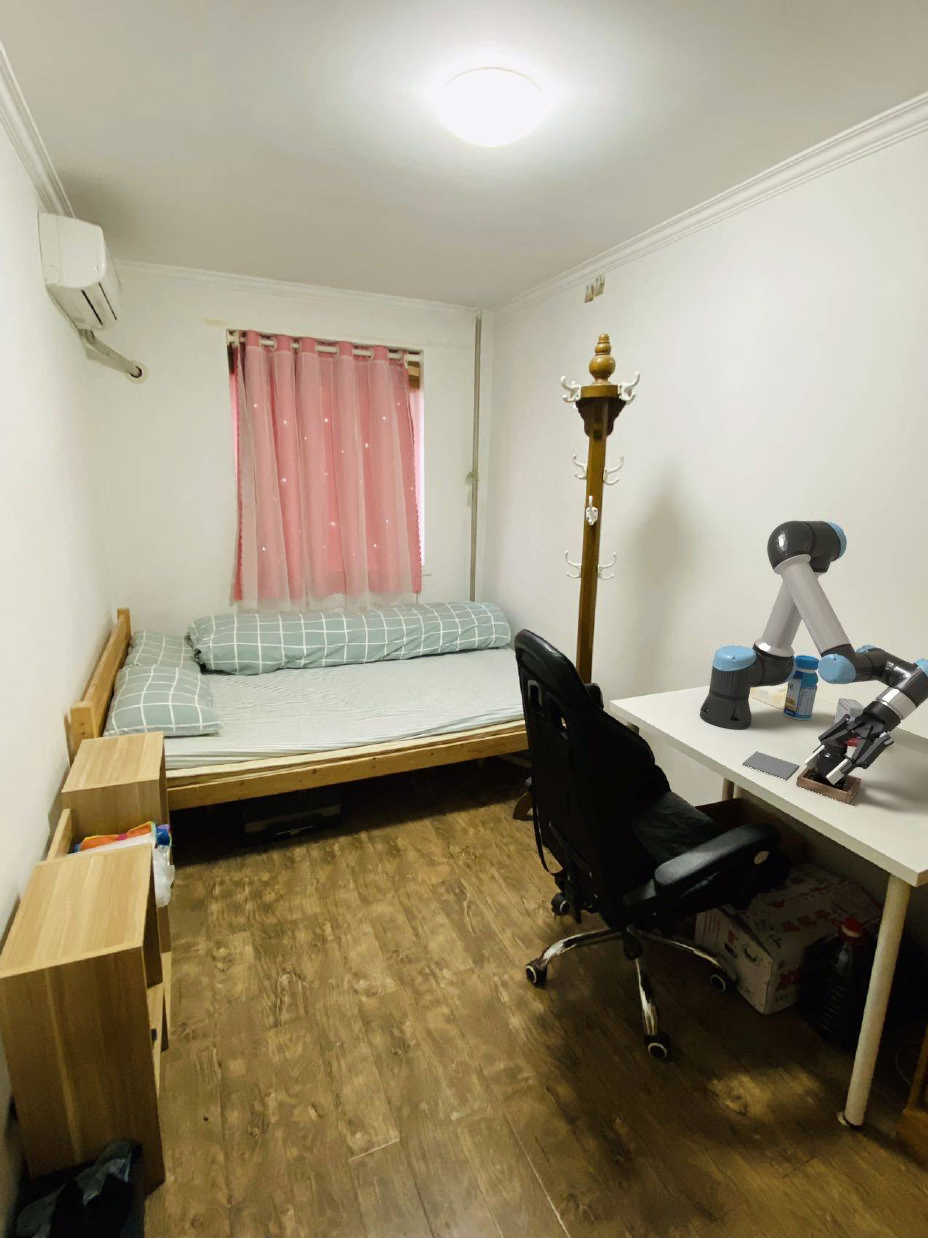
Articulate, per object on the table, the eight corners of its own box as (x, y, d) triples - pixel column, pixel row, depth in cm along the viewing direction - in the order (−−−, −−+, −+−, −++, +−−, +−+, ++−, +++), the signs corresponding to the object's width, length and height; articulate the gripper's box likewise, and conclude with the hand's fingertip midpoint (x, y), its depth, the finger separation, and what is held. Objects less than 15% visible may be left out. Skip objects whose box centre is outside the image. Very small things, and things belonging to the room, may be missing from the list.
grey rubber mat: (741, 764, 162) (742, 763, 162) (756, 752, 170) (756, 751, 169) (785, 780, 154) (786, 778, 154) (798, 766, 162) (799, 765, 162)
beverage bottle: (808, 723, 192) (820, 663, 187) (779, 716, 197) (790, 657, 192) (813, 716, 198) (824, 658, 194) (785, 709, 204) (795, 652, 199)
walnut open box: (795, 785, 152) (797, 776, 151) (809, 771, 160) (810, 762, 159) (848, 804, 144) (850, 794, 143) (859, 787, 152) (861, 778, 152)
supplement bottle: (806, 780, 155) (814, 737, 152) (831, 780, 156) (840, 737, 153) (824, 794, 148) (833, 749, 146) (850, 793, 149) (859, 749, 146)
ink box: (860, 747, 176) (868, 709, 173) (842, 745, 177) (850, 707, 174) (848, 735, 184) (856, 699, 182) (831, 733, 185) (838, 697, 183)
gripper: (930, 737, 141) (857, 803, 142) (862, 705, 160) (798, 763, 161) (916, 716, 139) (841, 784, 140) (849, 686, 158) (783, 746, 159)
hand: (818, 773), depth 150 cm, fingers closed on supplement bottle, 7 cm apart
